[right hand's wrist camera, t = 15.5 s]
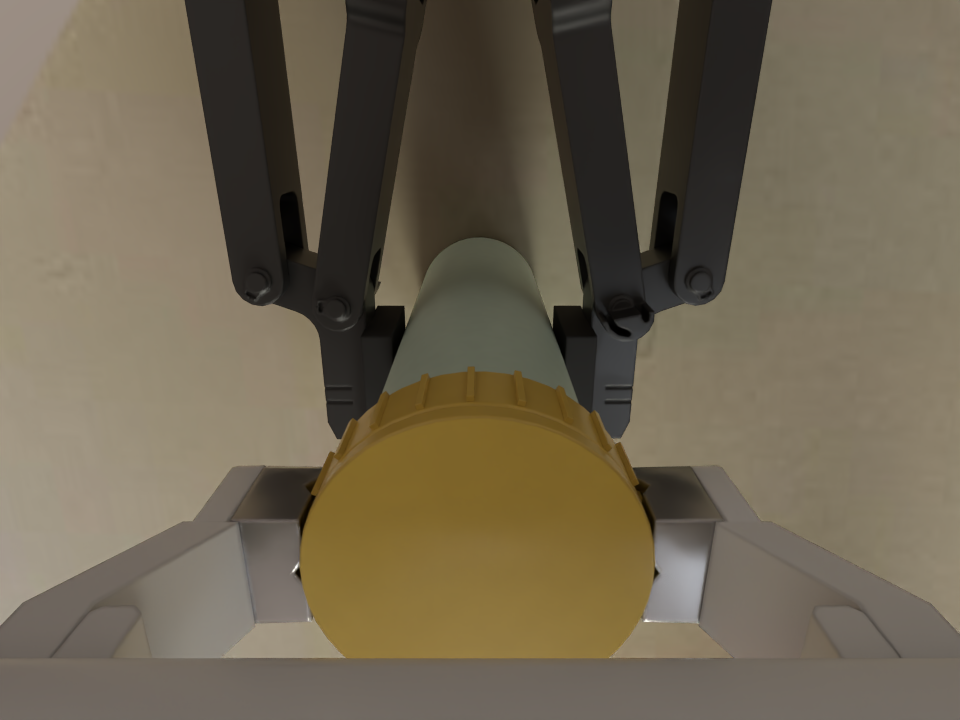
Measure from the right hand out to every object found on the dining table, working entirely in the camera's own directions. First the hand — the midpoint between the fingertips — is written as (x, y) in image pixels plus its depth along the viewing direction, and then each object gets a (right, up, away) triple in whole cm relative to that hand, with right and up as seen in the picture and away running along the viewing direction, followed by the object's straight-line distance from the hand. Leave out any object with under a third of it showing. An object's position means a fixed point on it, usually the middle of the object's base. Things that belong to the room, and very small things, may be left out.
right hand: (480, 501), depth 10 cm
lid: (0, -1, -1) cm, 2 cm away
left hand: (0, -3, +8) cm, 8 cm away
